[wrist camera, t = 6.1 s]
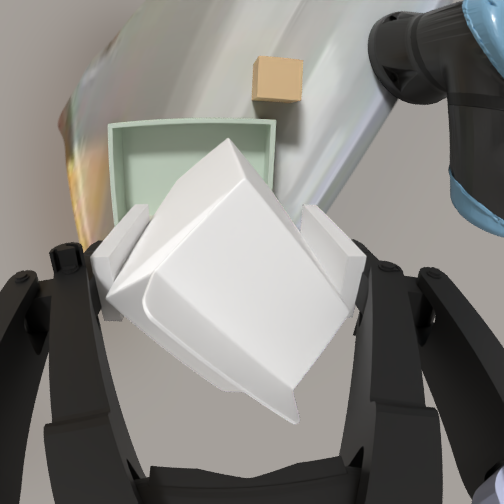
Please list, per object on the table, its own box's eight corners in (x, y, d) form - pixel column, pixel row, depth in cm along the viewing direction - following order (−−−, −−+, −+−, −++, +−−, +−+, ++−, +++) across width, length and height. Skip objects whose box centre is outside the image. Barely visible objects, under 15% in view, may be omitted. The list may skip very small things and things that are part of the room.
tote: (270, 119, 37) (276, 119, 33) (262, 258, 45) (267, 273, 41) (119, 122, 35) (107, 123, 31) (129, 259, 43) (121, 273, 39)
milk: (219, 227, 28) (224, 461, 9) (175, 179, 26) (66, 369, 6) (271, 187, 27) (389, 378, 7) (228, 135, 25) (258, 213, 5)
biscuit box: (291, 67, 34) (303, 60, 29) (289, 103, 36) (301, 100, 31) (253, 64, 34) (258, 55, 28) (251, 100, 36) (257, 97, 31)
